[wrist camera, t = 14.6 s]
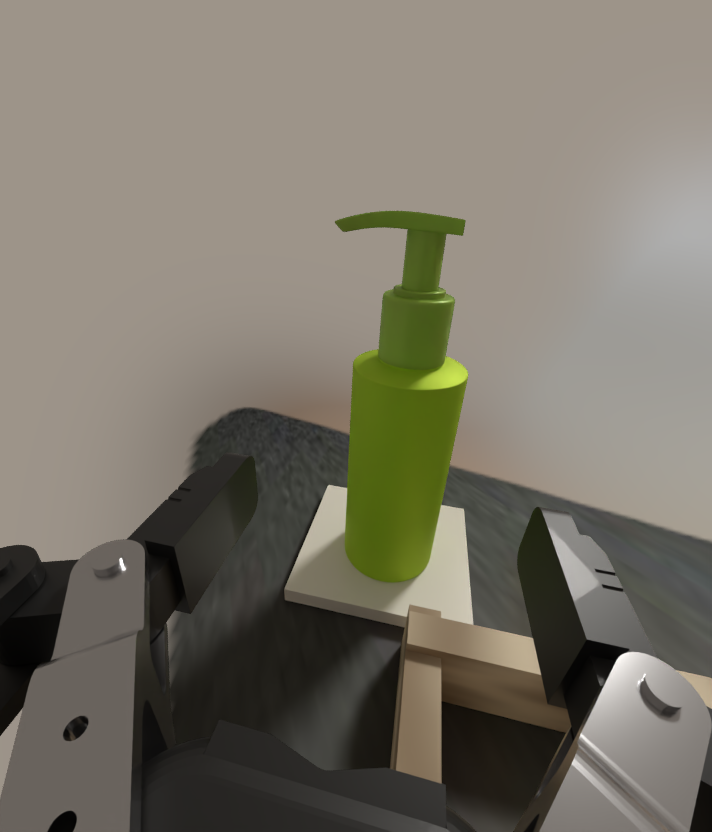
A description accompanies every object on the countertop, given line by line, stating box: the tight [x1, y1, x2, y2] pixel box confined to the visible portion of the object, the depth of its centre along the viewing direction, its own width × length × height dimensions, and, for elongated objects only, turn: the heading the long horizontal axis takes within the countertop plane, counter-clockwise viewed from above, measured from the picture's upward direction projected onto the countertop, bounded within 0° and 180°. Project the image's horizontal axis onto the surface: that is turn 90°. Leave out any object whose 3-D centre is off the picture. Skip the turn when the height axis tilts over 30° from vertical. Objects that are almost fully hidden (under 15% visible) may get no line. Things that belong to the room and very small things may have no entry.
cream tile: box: [284, 485, 473, 627], centre depth 26 cm, size 11×10×1 cm
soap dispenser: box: [335, 211, 468, 582], centre depth 21 cm, size 6×7×20 cm
